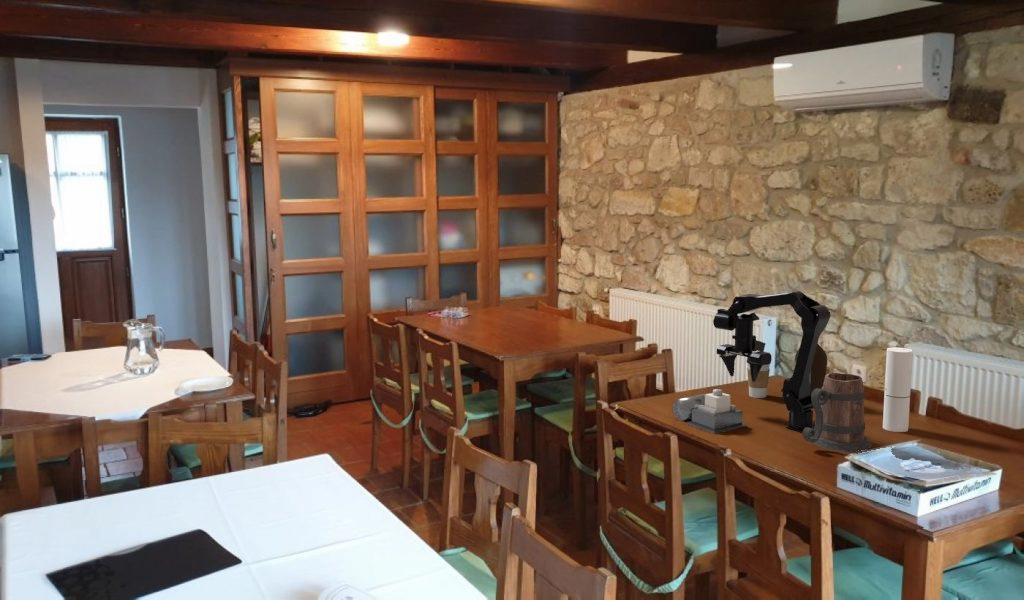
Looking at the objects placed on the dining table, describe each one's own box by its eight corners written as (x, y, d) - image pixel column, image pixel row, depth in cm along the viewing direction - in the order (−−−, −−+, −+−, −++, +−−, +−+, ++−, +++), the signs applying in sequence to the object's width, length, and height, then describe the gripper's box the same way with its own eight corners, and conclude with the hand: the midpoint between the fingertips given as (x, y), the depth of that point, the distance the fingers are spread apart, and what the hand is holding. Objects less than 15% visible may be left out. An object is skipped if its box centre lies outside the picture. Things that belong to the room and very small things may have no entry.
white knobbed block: (729, 410, 255) (730, 390, 254) (716, 413, 252) (716, 393, 251) (718, 406, 259) (718, 387, 258) (704, 409, 256) (705, 389, 255)
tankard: (836, 430, 250) (839, 367, 247) (884, 445, 235) (888, 378, 232) (782, 443, 239) (784, 377, 236) (828, 459, 224) (831, 390, 221)
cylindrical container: (902, 425, 253) (907, 347, 249) (911, 432, 246) (916, 352, 242) (879, 424, 254) (883, 347, 250) (887, 431, 247) (891, 352, 243)
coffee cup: (773, 398, 285) (774, 357, 283) (749, 399, 285) (750, 357, 283) (766, 392, 294) (767, 352, 291) (742, 393, 294) (743, 352, 292)
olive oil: (808, 395, 288) (810, 327, 285) (832, 402, 279) (835, 332, 275) (786, 400, 283) (789, 330, 280) (810, 407, 274) (813, 335, 270)
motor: (746, 426, 255) (747, 404, 254) (714, 434, 248) (714, 412, 247) (701, 411, 272) (702, 391, 271) (670, 418, 265) (670, 397, 264)
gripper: (783, 333, 260) (782, 380, 263) (738, 325, 276) (737, 370, 278) (760, 338, 254) (759, 386, 257) (715, 329, 270) (715, 374, 272)
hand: (742, 378), depth 266 cm, fingers open, 9 cm apart
